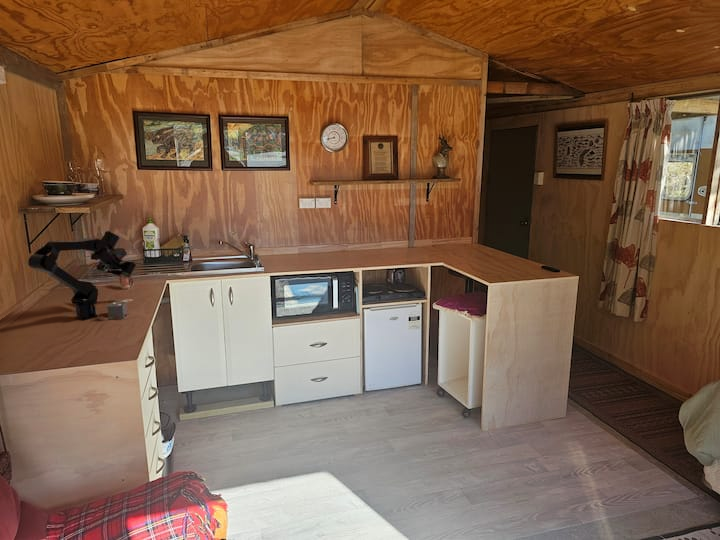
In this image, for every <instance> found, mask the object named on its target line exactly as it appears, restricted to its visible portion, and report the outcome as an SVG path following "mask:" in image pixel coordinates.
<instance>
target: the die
mask: <svg viewBox="0 0 720 540" xmlns="http://www.w3.org/2000/svg"><path fill="white" fill-rule="evenodd" d="M106 309H107V317H108V321H112V320H114V321H117V320H124V319H126V318H127V316H128V314H127V312H128V310H127V302H125V301H124V302H120V301H117V302H110V303H109V304H108V305H107V308H106Z"/></svg>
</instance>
